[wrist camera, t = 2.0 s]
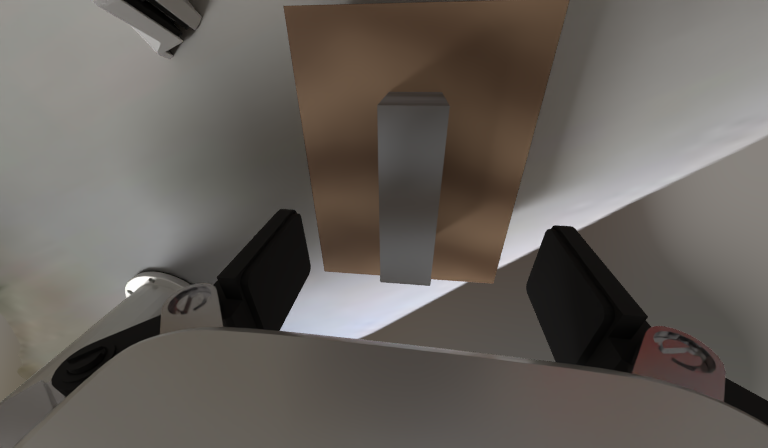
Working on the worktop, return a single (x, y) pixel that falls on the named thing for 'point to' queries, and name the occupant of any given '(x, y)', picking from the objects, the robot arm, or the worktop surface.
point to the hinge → (155, 20)
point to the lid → (419, 128)
